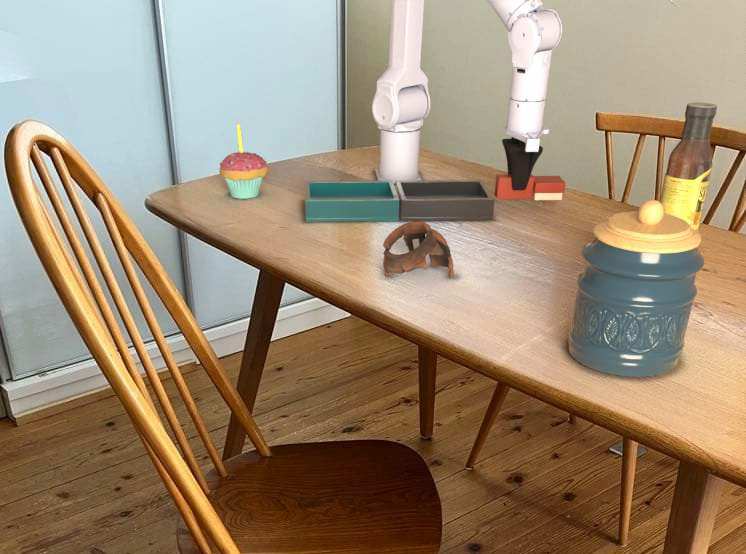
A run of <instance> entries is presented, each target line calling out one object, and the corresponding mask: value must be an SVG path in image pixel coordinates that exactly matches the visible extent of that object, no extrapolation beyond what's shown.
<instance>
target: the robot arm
mask: <svg viewBox="0 0 746 554" xmlns="http://www.w3.org/2000/svg"><path fill="white" fill-rule="evenodd" d="M486 1H487V2H488V4H489V5H490V6H491V8H492V9H493V11H494V12H495V14H496V15H497V17H498V18H499V19H500V21H501V22H502V24H503V26H504V27H505V28H506V30H507V31H508V32H507V41H508V47H509V48H510V51H511V63H512V72H511V81H510V90H509V97H508V98H509V99H508V108H507V116H506V117H507V118H506V126H505V127H504V134H505V135H506V136H509V137H510V138H503V139H501V143H502V146H503V149H504V152H505V157H506V166H507V167H506V168H507V174H511V182H512V189H513V190H525V189H526V187H527V184H528V181H529V178H530V175H531V174H532V172H533V168H534V167H535V165H536V163H537V161H538V160H539V157H540V156H541V155H542V153H543V151H544V147H542V146H541V145H540V143H541V138H542V136H543V135H549V134H550V128H549V127H547V126H543V124H544V117H545V108H546V101H547V96H548V95H547V93H548V87H549V80H550V70H551V64H552V56H553V50H554V49H555V48H556V47H557V46H558V45H559V43H560V41H561V39H562V34H563V25H562V21H561V18H560V16H559V14H558V12H557V11H556V10H554V9H552V8H546V7H544V6H543V5H544V3H543V2H542V0H486ZM390 6H391V7H390V26H389V27H390V28H389V30H390V31H389V49H388V67H387V68H386V70H385V71H384V72H383V73H382V74H381V76H380V77H379V78H378V80H377V81H376V90H375V93H374V96H373V99H372V103H371V112H372V117H373V119H374V121H375V123H376V124H377V128H378V130H380V132H379V133H380V136H379V167H376V168H375V169H374V173H375V175H376V179H377V181H393V183H394V185H395V181H423V180H422V176H421V175H420V172H419V163H420V162H419V161H420V141H421V127H423V126H424V120H425V119H426V118H427V117H428V116H429V114H430V112H431V107H432V104H431V103H432V101H431V95H430V91H429V78H428V77H427V75H426V73H424V71H423V70H422V69H421V59H422V46H423V45H422V44H423V43H422V42H423V27H424V11H425V0H391V1H390Z"/></svg>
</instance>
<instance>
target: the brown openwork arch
mask: <svg viewBox="0 0 746 554" xmlns="http://www.w3.org/2000/svg"><path fill="white" fill-rule="evenodd" d="M402 238H403V242H404V243H405V245H406V247H407V248H408V251H407V252H404V253H399V254H398V253H392V252H390V250H391V248H392V247H393V245H395V243H397V242H398V241H399V240H400V239H402ZM382 246H383V247H384V251H383V252H382V253H383V254H382V255H383V259H382V260H383V261H382V268H383V272H384V275H385V276H386V277H389V276H390V274H399V275H402V274H404V273H405V272H406V273H410V272H413V271H415V270H417V269H423V270H428V264H427V256H428V257H429V260H430V266H431V267H443V268H447V269H448V270H449V277H450V278H451V279H452V278H454V277H455V271H454V261H453V257H452V254H451V250H450V246H449V244H448V241H447V239H446V238H445V237H444V236H443V234H441V233H440V232H438V231H437V230H435V229H433V228H432V227H431V226H430V224H428V223H427V222H426V221H418V220H414V221H408V222H406V223H403V224H401V225H400V226H398V227H396V228H395V229H394V230H392V232H390V233H389V234H388V235H387V237H386V238H385V239H384V241H383V245H382Z"/></svg>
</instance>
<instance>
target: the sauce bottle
mask: <svg viewBox="0 0 746 554" xmlns="http://www.w3.org/2000/svg"><path fill="white" fill-rule="evenodd" d="M717 109H718V105H717V104H715V103H710V102H689V103H687V104H686V108H685V112H684V117H685V120H684V123H683V124H684V125H683V130H682V132H681V139H680V141H679V142H678V143H677V144H676V145H675V147H674V148H673V149H672V151H671V153H670V154H669V157H668V163H667V168H666V171H665V173H664V174H665V175H664V179H663V184H662V188H661V193H660V198H659V202H661V203H662V205H663V208H664V214H668V215H672V216H675V217H678V218H681V219H683V220H685V221H686V222H687V223H688V224H689V225H690V227H691V228H692V229H694V230H695V231H696V232H698V233H699V227H700V223H701V219H702V214H703V210H704V207H705V201H706V197H707V192H708V187H709V183H710V179H711V174H712V170H713V159H712V158H713V157H712V149H711V148H712V147H711V139H710V138H711V131H712V127H713V123H714V119H715V117H716V115H717Z"/></svg>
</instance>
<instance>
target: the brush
mask: <svg viewBox="0 0 746 554" xmlns="http://www.w3.org/2000/svg"><path fill="white" fill-rule="evenodd" d="M566 184H567V183H566V182H565V181H564V179H563V178H562V177H561V176H560V175H533V174H532V173H531V175H530V178H529V181H528V184H527V187H526V189H525V190H513V189H512V182H511V174H508V173H505V174H504V173H500V174H499V173H498V174H497V173H496V175H495V184H494V185H495V186H494V194H493V195H494V197H495V199H497V200H498V199H499V200H502V199H503V200H505V199H506V200H507V199H509V200H511V199H512V200H515V199H516V200H517V199H521V200H522V199H524V200H525V199H533V200H534V201H562V200H563V195H564V193H565V192H566Z"/></svg>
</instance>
